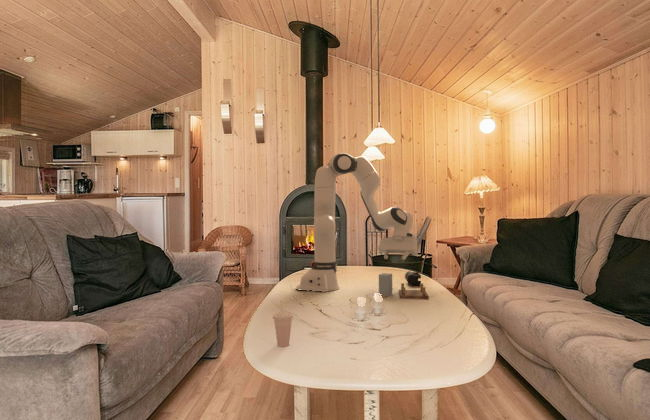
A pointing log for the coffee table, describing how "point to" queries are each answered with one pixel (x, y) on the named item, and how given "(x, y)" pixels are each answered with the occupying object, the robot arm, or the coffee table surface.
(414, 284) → the end cap
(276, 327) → the smoothie
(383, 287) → the slate block
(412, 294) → the stand
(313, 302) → the coffee table surface
